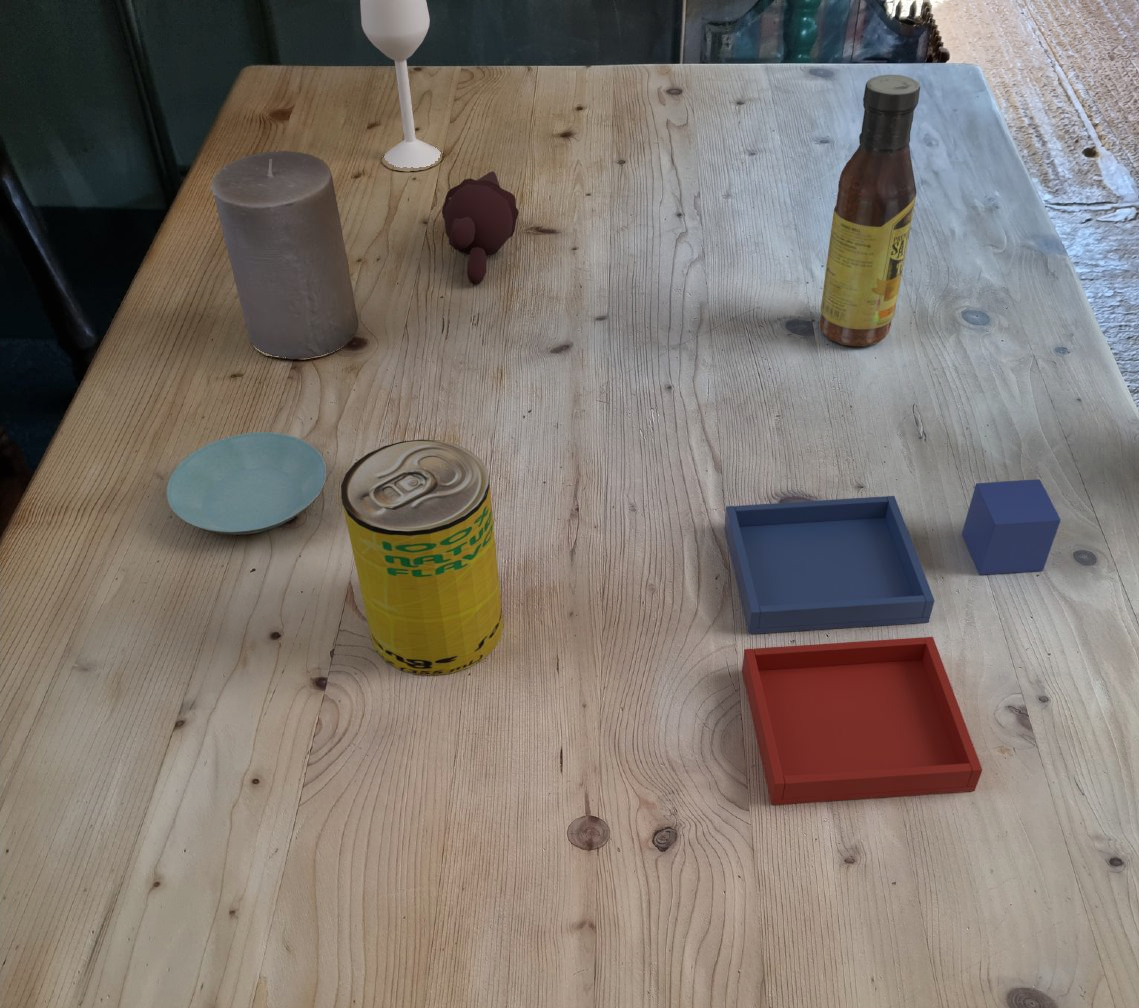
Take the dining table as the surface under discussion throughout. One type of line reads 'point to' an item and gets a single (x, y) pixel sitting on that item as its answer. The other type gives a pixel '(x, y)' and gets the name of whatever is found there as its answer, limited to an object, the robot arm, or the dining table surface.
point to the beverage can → (425, 554)
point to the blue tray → (826, 565)
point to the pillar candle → (287, 253)
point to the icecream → (479, 221)
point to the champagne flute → (400, 66)
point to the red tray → (857, 721)
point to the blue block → (1010, 526)
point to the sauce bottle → (872, 218)
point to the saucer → (246, 483)
